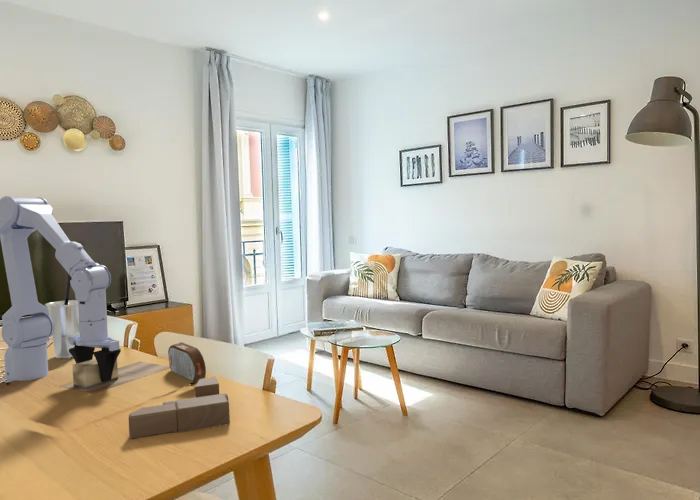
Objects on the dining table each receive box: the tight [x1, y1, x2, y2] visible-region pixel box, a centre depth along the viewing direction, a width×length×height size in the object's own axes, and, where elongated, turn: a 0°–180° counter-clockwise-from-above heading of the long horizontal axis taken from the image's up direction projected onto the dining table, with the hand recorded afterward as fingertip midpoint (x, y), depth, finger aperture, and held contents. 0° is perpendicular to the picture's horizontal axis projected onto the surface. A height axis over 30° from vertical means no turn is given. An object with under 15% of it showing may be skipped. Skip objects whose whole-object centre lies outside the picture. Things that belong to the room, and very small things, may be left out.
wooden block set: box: [128, 375, 231, 440], centre depth 101 cm, size 17×6×18 cm
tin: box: [167, 341, 207, 386], centre depth 124 cm, size 15×3×8 cm, turn 42°
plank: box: [59, 361, 170, 394], centre depth 125 cm, size 12×22×1 cm, turn 152°
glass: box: [44, 274, 80, 359], centre depth 149 cm, size 11×11×30 cm
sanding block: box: [72, 358, 119, 390], centre depth 119 cm, size 4×8×5 cm, turn 152°
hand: (96, 378), depth 119 cm, fingers open, 6 cm apart
